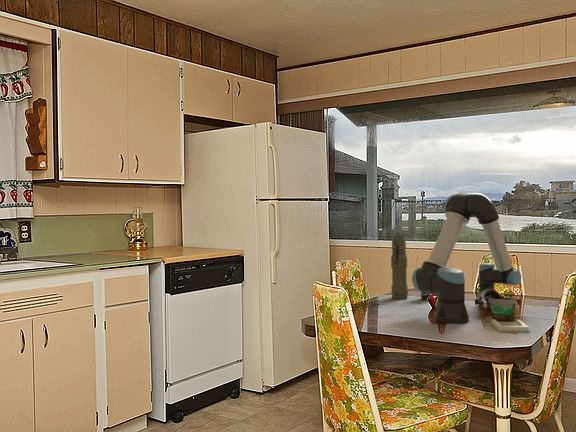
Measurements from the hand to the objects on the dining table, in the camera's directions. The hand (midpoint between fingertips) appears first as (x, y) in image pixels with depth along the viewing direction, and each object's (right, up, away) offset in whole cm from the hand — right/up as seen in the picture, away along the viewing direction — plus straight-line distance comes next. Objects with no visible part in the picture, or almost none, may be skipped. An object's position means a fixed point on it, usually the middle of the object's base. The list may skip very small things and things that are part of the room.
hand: (501, 304), depth 268 cm
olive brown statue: (-35, -6, +61) cm, 70 cm away
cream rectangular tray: (-3, -7, -18) cm, 20 cm away
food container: (-1, -7, -4) cm, 8 cm away
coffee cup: (-20, -6, +57) cm, 60 cm away
